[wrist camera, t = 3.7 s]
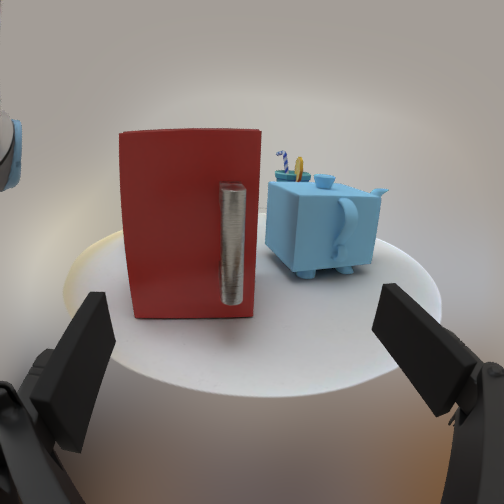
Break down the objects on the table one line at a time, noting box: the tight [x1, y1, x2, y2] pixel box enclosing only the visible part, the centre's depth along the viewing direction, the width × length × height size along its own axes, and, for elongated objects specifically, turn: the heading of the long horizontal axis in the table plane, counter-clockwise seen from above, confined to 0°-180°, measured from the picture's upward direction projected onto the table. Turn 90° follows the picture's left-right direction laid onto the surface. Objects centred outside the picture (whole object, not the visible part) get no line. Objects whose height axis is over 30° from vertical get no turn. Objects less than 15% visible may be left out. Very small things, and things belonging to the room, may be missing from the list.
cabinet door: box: [119, 130, 262, 318], centre depth 25 cm, size 6×12×18 cm, turn 98°
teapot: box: [265, 174, 388, 279], centre depth 43 cm, size 18×16×13 cm
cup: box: [275, 150, 311, 182], centre depth 63 cm, size 14×8×15 cm, turn 20°
